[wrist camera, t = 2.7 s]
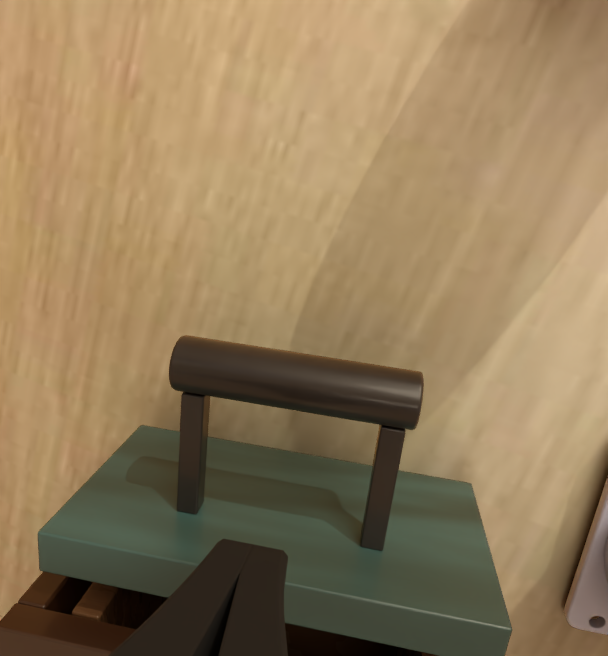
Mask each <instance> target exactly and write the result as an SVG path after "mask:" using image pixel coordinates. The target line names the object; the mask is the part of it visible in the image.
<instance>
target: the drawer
mask: <svg viewBox="0 0 608 656" xmlns="http://www.w3.org/2000/svg"><path fill="white" fill-rule="evenodd" d="M169 380H170V385H171V387H172V388H173V389H175V390H177V391H183V393H182V397H181V419H180V432H178V431H173V430H167V429H161V428H156V427H150V426H144V425H141V426H140V427H139V428H138V429H137V430H136V431H135V432H134V433H133V434H132V435H131V436H130V437H129V438H128V439H127V440H126V441H125V442H124V443H123V444H122V445H121V446H120V448H119V449H118V450H117V451H116V452H115V453H114V454H113V455H112V456H111V457H110V458H109V459H108V460H107V461H106V462H105V463H104V464H103V465H102V466H101V467H100V468H99V469H98V470H97V471H96V472H95V473H94V474H93V476H92V477H91V478H90V479H89V480H88V481H87V482H86V483H85V484H84V485H83V486H82V487H81V488H80V489H79V490H78V491H77V492H76V493H75V494H74V495H73V496H72V497H71V498H70V499H69V500H68V501H67V503H66V504H65V505H64V506H63V507H62V508H61V509H60V510H59V511H58V512H57V513H56V514H55V515H54V516H53V517H52V518H51V519H50V520H49V521H48V522H47V523H46V524H45V525H44V526H43V527H42V528H41V529H40V531H39V532H38V549H39V569H40V570H41V571H44V572H48V573H53V574H58V575H62V576H67V577H72V578H76V579H81V580H86V581H90V582H92V584H91V585H90V587H89V588H88V589H87V591H86V592H85V594H84V595H83V596H82V598H81V599H80V601H79V602H78V603H77V605H76V606H75V608H74V609H73V611H72V615H74V616H78V617H83V618H87V619H92V620H96V621H101V622H105V623H110V624H114V625H119V626H123V627H128V628H133V629H138V628H139V627H140V626H141V625H142V624H143V623H144V622H145V621H146V620H147V619H148V618H149V617H150V616H151V615H152V614H153V613H154V612H155V611H156V610H157V609H158V608H159V607H160V606H161V605H162V604H163V603H164V602H165V601H166V600H167V599H168V598H169V597H170V596H171V595H172V594H173V593H174V592H175V591H176V590H177V588H178V587H179V586H180V585H181V584H182V583H183V582H184V581H185V580H186V579H187V578H188V576H189V575H190V574H191V573H192V572H193V571H194V570H195V569H196V568H197V566H198V565H199V564H200V563H201V562H202V561H203V559H204V558H205V557H206V556H207V555H208V553H209V552H210V551H211V550H212V549H213V547H214V546H215V545H216V544H217V542H219V541H220V540H222V539H229V540H234V541H239V542H244V543H249V544H254V545H259V546H264V547H269V548H274V549H280V550H284V552H285V553H286V554H287V555H288V563H287V571H286V579H285V587H284V618H285V631H286V642H287V653H288V656H505V653H506V649H507V646H508V642H509V639H510V636H511V632H512V627H511V623H510V620H509V616H508V613H507V609H506V606H505V602H504V598H503V595H502V591H501V588H500V584H499V580H498V577H497V573H496V570H495V566H494V563H493V559H492V555H491V552H490V548H489V545H488V541H487V538H486V534H485V530H484V527H483V523H482V520H481V516H480V513H479V509H478V505H477V502H476V498H475V495H474V491H473V488H472V484H471V483H467V482H461V481H455V480H450V479H444V478H438V477H433V476H427V475H421V474H416V473H410V472H404V471H399V470H398V469H399V464H400V459H401V453H402V448H403V443H404V437H405V429H409V430H413V429H415V428H416V426H417V423H418V420H419V416H420V412H421V406H422V399H423V387H424V380H423V375H422V373H421V372H418V371H412V370H406V369H399V368H393V367H386V366H380V365H374V364H367V363H361V362H354V361H348V360H341V359H335V358H329V357H322V356H316V355H309V354H303V353H297V352H290V351H284V350H277V349H271V348H265V347H258V346H252V345H245V344H239V343H232V342H226V341H220V340H213V339H207V338H200V337H194V336H188V335H185V336H182V337H180V338H179V340H178V341H177V343H176V345H175V347H174V349H173V352H172V356H171V360H170V366H169ZM210 396H213V397H219V398H225V399H230V400H236V401H242V402H248V403H254V404H260V405H266V406H272V407H278V408H284V409H290V410H296V411H302V412H308V413H314V414H320V415H326V416H332V417H338V418H343V419H349V420H355V421H361V422H367V423H373V424H379V431H378V437H377V443H376V448H375V454H374V460H373V466H370V465H365V464H359V463H354V462H348V461H342V460H337V459H331V458H325V457H320V456H314V455H308V454H303V453H297V452H291V451H286V450H280V449H274V448H269V447H263V446H257V445H252V444H246V443H240V442H235V441H229V440H224V439H218V438H212V437H208V424H209V408H210Z"/></svg>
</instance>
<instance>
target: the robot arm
mask: <svg viewBox="0 0 608 656" xmlns="http://www.w3.org/2000/svg"><path fill="white" fill-rule="evenodd" d="M287 563H288V555H287V554H286V553H285V552H284V550H280V549H274V548H269V547H264V546H259V545H254V544H249V543H244V542H239V541H234V540H229V539H222V540H220V541H219V542H217V544H216V545H215V546H214V547H213V549H212V550H211V551H210V552H209V553H208V555H207V556H206V557H205V558H204V559H203V561H202V562H201V563H200V564H199V565H198V566H197V568H196V569H195V570H194V571H193V572H192V573H191V574H190V575H189V576H188V578H187V579H186V580H185V581H184V582H183V583H182V584H181V585H180V586H179V587H178V588H177V590H176V591H175V592H174V593H173V594H172V595H171V596H170V597H169V598H168V599H167V600H166V601H165V602H164V603H163V604H162V605H161V606H160V607H159V608H158V609H157V610H156V611H155V612H154V613H153V614H152V615H151V616H150V617H149V618H148V619H147V620H146V621H145V622H144V623H143V624H142V625H141V626H140V627H139V628H138V629H136V630H135V631H134V632H133V633H132V634H131V635H130V636H129V637H128V638H127V639H126V640H125V641H123V642H122V643H121V644H120V645H119V646H118V647H117V648H116V649H115V650H114V651H113V652H112V653H110V654H109V655H108V656H288V653H287V642H286V631H285V618H284V587H285V579H286V571H287ZM564 614H565V617H566V619H567V621H568V623H569V624H570V625H571V626H572V627H574V628H577V629H580V630H585V631H590V632H595V633H600V634H605V635H608V477H607V480H606V483H605V486H604V489H603V492H602V495H601V498H600V501H599V504H598V507H597V510H596V513H595V516H594V519H593V522H592V525H591V528H590V531H589V534H588V537H587V540H586V543H585V546H584V549H583V553H582V556H581V559H580V562H579V565H578V568H577V571H576V574H575V577H574V580H573V583H572V586H571V589H570V592H569V595H568V598H567V601H566V604H565V607H564ZM594 616H599V617H598V618H596V619H591V618H592V617H594Z"/></svg>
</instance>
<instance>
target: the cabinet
mask: <svg viewBox="0 0 608 656" xmlns="http://www.w3.org/2000/svg"><path fill="white" fill-rule="evenodd" d="M91 584H92V582H90V581H86V580H81V579H76V578H72V577H67V576H62V575H58V574H53V573H48V572H44V571H43V573H42V574H41V575H40V576H39V577H38V578H37V580H36V581H35V582H34V583H33V584H32V585H31V587H30V588H29V589H28V590H27V591H26V592H25V594H24V595H23V596H22V597H21V598H20V600H19V602H18V603H16V604H15V605H14V606H13V607H12V608H11V609H10V611H9V612H8V613H7V614H6V615H5V616H4V618H3V619H2V620H1V621H0V656H108V655H109V654H110V653H112V652H113V651H114V650H115V649H116V648H117V647H118V646H119V645H120V644H121V643H122V642H123V641H125V640H126V639H127V638H128V637H129V636H130V635H131V634H132V633H133V632H134V631H135V630H136V629H133V628H128V627H123V626H119V625H114V624H110V623H105V622H101V621H96V620H92V619H87V618H83V617H78V616H74V615H72V611H73V609H74V608H75V606H76V605H77V603H78V602H79V601H80V599H81V598H82V596H83V595H84V594H85V592H86V591H87V589H88V588H89V587H90V585H91Z"/></svg>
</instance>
